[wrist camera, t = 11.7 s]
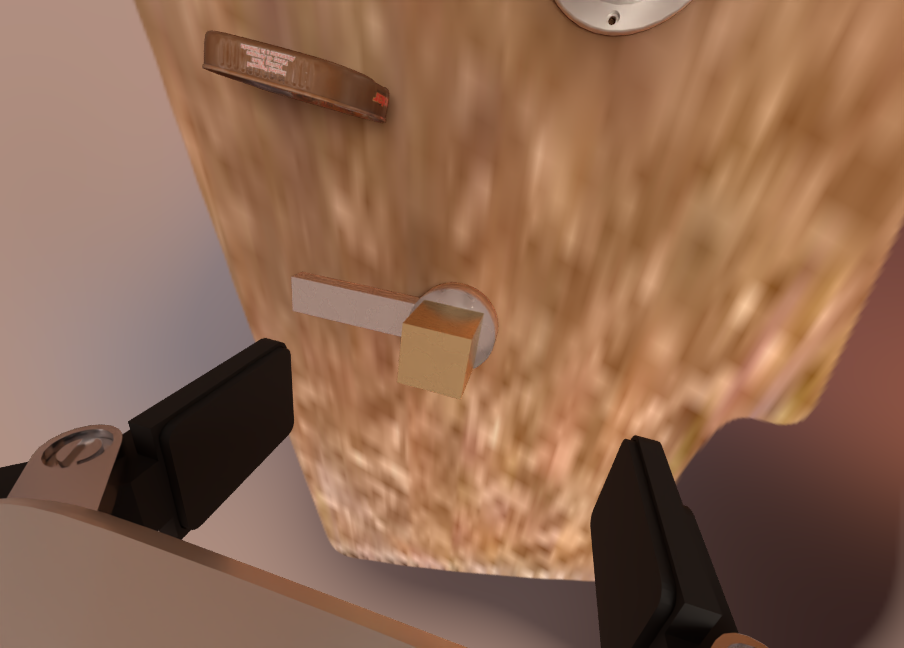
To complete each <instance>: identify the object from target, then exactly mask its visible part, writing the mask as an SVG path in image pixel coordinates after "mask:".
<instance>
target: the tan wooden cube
mask: <svg viewBox="0 0 904 648" xmlns="http://www.w3.org/2000/svg"><path fill="white" fill-rule="evenodd" d="M483 316H484V313H481V312H476V311H472V310H468V309H463V308H459V307H454V306H450V305H446V304H441V303H437V302H433V301H428V300H424V301H423V302H422V303H421V304H420V305H419V306H418V307H417V308H416V309H415V310H414V311H413V312H412V313H411V315H410V316H409V317H408V318H407V319H406V320H405V321H404V322H403V324H402V335H401V345H400V355H399V366H398V376H397V382H398V383H401V384H405V385H409V386H412V387H416V388H420V389H424V390H427V391H431V392H435V393H438V394H442V395H446V396H450V397H453V398H457V399H461V398H462V395H463V393H464V390H465V387H466V385H467V382H468V380H469V377H470V375H471V372H472V370H473V367H474V363H475V358H476V353H477V347H478V342H479V337H480V332H481V327H482V322H483Z"/></svg>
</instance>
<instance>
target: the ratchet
mask: <svg viewBox="0 0 904 648" xmlns="http://www.w3.org/2000/svg"><path fill="white" fill-rule="evenodd" d="M291 279H292V302H293V311H296V312H300V313H304V314H308V315H312V316H317V317H321V318H325V319H329V320H333V321H338V322H342V323H346V324H350V325H354V326H358V327H363V328H367V329H371V330H375V331H379V332H383V333H388V334H392V335H396V336H400V337H401V335H402V324H403V322H404V321H405V320H406V319H407V318H408V317H409V316H410V315H411V313H412V312H413V311H414V310H415V309H416V308H417V307H418V306H419V305H420V304H421V303H422V302H423V301H424V300H428V301H433V302H437V303H441V304H446V305H450V306H454V307H459V308H463V309H468V310H472V311H476V312H481V313H484V316H483V322H482V327H481V332H480V337H479V342H478V347H477V353H476V358H475V363H474V367H473V369H474V368H476V367H478V366H479V365H481V364H482V363H483V362H484V361H485V360H486V359H487V358H488V356H489V355H490V353H491V351H492V349H493V346H494V343H495V340H496V337H497V333H498V318H497V314H496V311H495V309H494V307H493V305H492V303H491V302H490V301H489V299H488V298H487V297H486V296H485V295H484V294H483V293H481V292H480V291H479V290H477V289H475V288H474V287H472V286H469V285H466V284H463V283H457V282H449V283H443V284H439V285H437V286H435V287H433V288H431V289H430V290H429V291H427V292H426V293H425V294H424V295H423V296H422V297H421V298H420V297H415V296H410V295H406V294H401V293H397V292H392V291H388V290H383V289H379V288H374V287H370V286H365V285H360V284H356V283H351V282H347V281H342V280H338V279H333V278H329V277H324V276H319V275H315V274H310V273H306V272H301V273H298V274H296V275H294V276H292V277H291Z"/></svg>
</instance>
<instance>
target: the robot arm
mask: <svg viewBox="0 0 904 648" xmlns="http://www.w3.org/2000/svg"><path fill="white" fill-rule="evenodd" d="M691 1H692V0H555V2H556V4H557V5H558V6H559V8H560V9H561V10H562V11H563V12H564V13H565V15H566V16H567V17H568V18H569V19H571V20H572V21H573V22H575V23H576V24H578V25H579V26H580V27H582V28H584V29H587V30H589V31H592V32H594V33H598V34H604V35H611V36H617V35H630V34H634V33H637V32H641V31H645V30H648V29H650V28H652V27H654V26H656V25H658V24H661V23H663V22H665V21H667V20H668V19H669V18H671V17H672V16H674V15H675V14H677V13H678V12H679V11H681V10H682V9H684V8H685V7H686V6H687V5H688V4H689V3H690V2H691ZM610 18H614V19H615V24H614V25H609V23H608V20H609V19H610ZM128 423H129V427H130V430H129V431H127V432H126V433H124V434H122V432H121V431H120V430H119V429H118V428H116V427H114V426H111V425H89V426H84V427H80V428H76V429H73V430H70V431H67V432H64V433H62V434H60V435H58V436H56V437H54V438H52V439H50V440H48V441H47V442H46V443H44V444H43V445H42V446H40V447H39V448H38V449H37V450H36V451H35V453H34V454H33V455H32V456H31V458H30V460H29V461H28V462H25V463H20V464H15V465H10V466H6V467H1V468H0V648H467V647H464V646H462V645H459V644H456V643H454V642H451V641H449V640H446V639H443V638H441V637H438V636H436V635H433V634H430V633H428V632H425V631H423V630H420V629H417V628H415V627H412V626H409V625H407V624H404V623H402V622H399V621H396V620H394V619H391V618H389V617H386V616H383V615H380V614H378V613H375V612H372V611H370V610H367V609H365V608H362V607H360V606H357V605H354V604H351V603H349V602H346V601H344V600H341V599H338V598H335V597H333V596H330V595H328V594H325V593H322V592H320V591H317V590H314V589H312V588H309V587H306V586H304V585H301V584H298V583H296V582H293V581H290V580H288V579H285V578H283V577H280V576H277V575H274V574H272V573H269V572H267V571H264V570H261V569H259V568H256V567H253V566H250V565H248V564H245V563H242V562H240V561H236V560H234V559H232V558H229V557H226V556H223V555H221V554H218V553H215V552H213V551H210V550H207V549H205V548H202V547H199V546H196V545H193V544H191V543H188V542H185V541H183V540H182V539H183V537H185V536H186V535H187V534H188V532H189V531H190V530H195V529H197V528H198V527H200V526H201V525H202V524H203V523H204V522H205V521H206V520H207V519H208V518H209V517H210V516H211V515H212V514H213V513H214V511H215V510H217V508H218V507H219V506H220V505H221V504H222V503H223V502H224V501H225V500H226V499H227V498H228V497H229V496H230V495H231V494H232V493H233V492H234V491H235V490H236V489H237V488H238V487H239V486H240V484H242V483H243V481H244V480H245V479H246V478H247V477H248V476H249V475H250V474H251V473H252V472H253V471H254V470H255V469H256V468H257V467H258V466H259V465H260V464H261V463H262V462H263V461H264V460H265V459H266V458H267V457H268V456H269V455H270V454H271V452H272V451H273V450H274V449H275V448H276V447H277V446H278V445H279V444H280V443H281V442H282V441H283V440H284V439H285V438H286V437H287V436H288V435H289V434H290V432H291V430H292V428H293V425H294V411H293V392H292V372H291V354H290V351H289V350H288V349H287V347H286V345H285V344H284V343H283V342H279V341H275V340H271V339H267V338H263V339H260V340H259V341H257V342H256V343H254V344H252V345H251V346H249V347H248V348H246V349H244V350H243V351H241V352H239V353H238V354H236V355H235V356H233V357H231V358H230V359H228V360H227V361H225V362H223V363H222V364H220V365H218V366H217V367H215V368H214V369H212V370H210V371H209V372H207V373H206V374H204V375H202V376H201V377H199V378H197V379H196V380H194V381H193V382H191V383H189V384H188V385H186V386H185V387H183V388H181V389H180V390H178V391H177V392H175V393H173V394H172V395H170V396H168V397H167V398H165V399H164V400H162V401H160V402H159V403H157V404H155V405H154V406H152V407H151V408H149V409H147V410H146V411H144V412H143V413H141V414H139V415H138V416H136V417H135V418H133V419H131V420H130V421H128ZM590 526H591V539H592V550H593V562H594V573H595V584H596V596H597V607H598V619H599V630H600V642H601V648H768V647H767V646H765V645H764V644H762V643H760V642H759V641H757V640H755V639H753V638H751V637H749V636H746V635H742V634H739V633H738V630H737V628H736V625H735V622H734V620H733V617H732V615H731V612H730V609H729V606H728V604H727V601H726V599H725V596H724V593H723V591H722V588H721V585H720V583H719V580H718V577H717V575H716V572H715V569H714V567H713V564H712V562H711V559H710V556H709V554H708V551H707V548H706V546H705V543H704V540H703V538H702V535H701V532H700V530H699V527H698V525H697V522H696V519H695V516H694V515H693V513H692V511H691V510H690V509H689V508H688V507H687V506H684V505H683V504H682V501H681V498H680V495H679V492H678V490H677V487H676V484H675V481H674V478H673V476H672V473H671V470H670V467H669V464H668V462H667V459H666V456H665V453H664V450H663V448H662V445H661V443H660V442H658V441H655V440H651V439H647V438H644V437H640V436H636V435H635V436H633V437H632V438H631V440H628V439H624V440H623V442H622V444H621V446H620V448H619V451H618V453H617V455H616V458H615V460H614V463H613V465H612V467H611V470H610V472H609V474H608V477H607V479H606V481H605V484H604V486H603V488H602V491H601V493H600V495H599V498H598V500H597V502H596V505H595V507H594V509H593V512H592V516H591V523H590ZM158 531H159V532H158Z"/></svg>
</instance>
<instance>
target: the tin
mask: <svg viewBox="0 0 904 648" xmlns="http://www.w3.org/2000/svg"><path fill="white" fill-rule="evenodd" d="M202 68H204V69H206V70H208V71H211V72H214V73H216V74H219V75H222V76H225V77H228V78H231V79H234V80H237V81H240V82H243V83H246V84H249V85H252V86H255V87H257V88H260V89H263V90H266V91H270V92H273V93H276V94H280V95H284V96H287V97H290V98H294V99H297V100H301V101H304V102H308V103H311V104H315V105H318V106H322V107H325V108H329V109H332V110H336V111H339V112H343V113H346V114H350V115H353V116H357V117H360V118H364V119H368V120H372V121H376V122H382V123H385V122H386V119H385V118H386V112H387V106H388V101H389V90H388V89H387V88H385V87H382V86H380V85H379V84H377V83H376V82H375V81H374V80H372V79H371V78H369V77H368V76H366V75H364V74H362V73H359V72H357V71H355V70H352V69H349V68H347V67H345V66H342V65H339V64H336V63H333V62H330V61H327V60H324V59H320V58H317V57H314V56H311V55H307V54H303V53H300V52H296V51H292V50H289V49H285V48H282V47H278V46H274V45H271V44H267V43H263V42H259V41H255V40H251V39H247V38H244V37H239V36H235V35H231V34H227V33H223V32H218V31H208V32H206V34H205V41H204V64H203V66H202Z"/></svg>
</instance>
